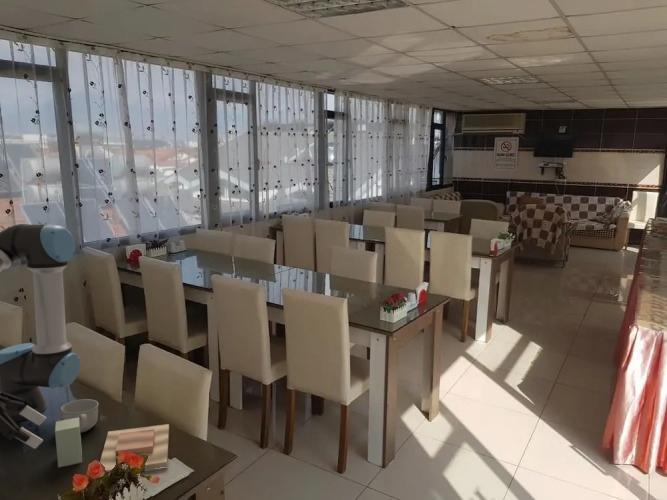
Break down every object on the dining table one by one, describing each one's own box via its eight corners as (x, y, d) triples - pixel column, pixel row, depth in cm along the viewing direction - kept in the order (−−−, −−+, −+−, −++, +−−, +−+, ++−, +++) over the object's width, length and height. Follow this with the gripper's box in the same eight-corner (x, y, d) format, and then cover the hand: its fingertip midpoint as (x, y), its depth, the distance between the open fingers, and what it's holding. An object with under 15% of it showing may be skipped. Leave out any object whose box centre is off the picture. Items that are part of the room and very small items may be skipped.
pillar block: (58, 456, 150) (55, 421, 148) (81, 451, 152) (79, 417, 151) (58, 467, 144) (55, 431, 143) (81, 462, 147) (79, 426, 145)
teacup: (64, 423, 169) (62, 400, 167) (100, 417, 173) (98, 395, 172) (60, 444, 156) (58, 420, 155) (99, 437, 160) (97, 413, 159)
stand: (108, 437, 160) (107, 425, 160) (169, 429, 165) (168, 418, 165) (97, 478, 140) (96, 465, 139) (167, 468, 144) (166, 455, 144)
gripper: (-31, 383, 144) (34, 423, 153) (-52, 423, 122) (26, 467, 131) (-10, 362, 146) (53, 403, 155) (-27, 398, 124) (48, 443, 132)
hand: (41, 432), depth 143 cm, fingers open, 13 cm apart
